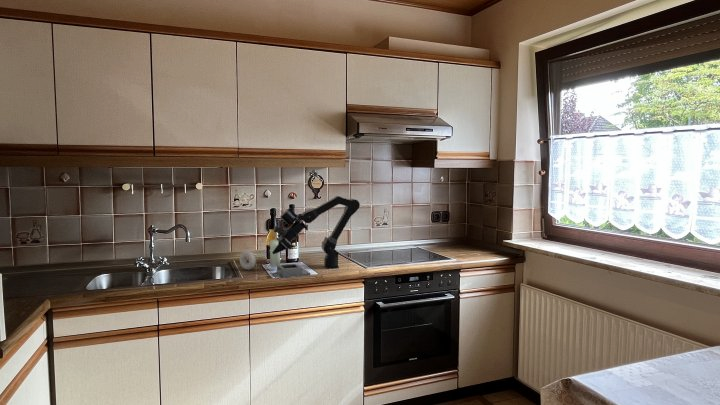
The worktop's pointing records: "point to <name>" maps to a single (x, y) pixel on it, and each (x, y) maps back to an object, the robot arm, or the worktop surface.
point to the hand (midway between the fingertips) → (272, 252)
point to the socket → (291, 270)
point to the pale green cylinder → (274, 257)
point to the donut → (243, 261)
